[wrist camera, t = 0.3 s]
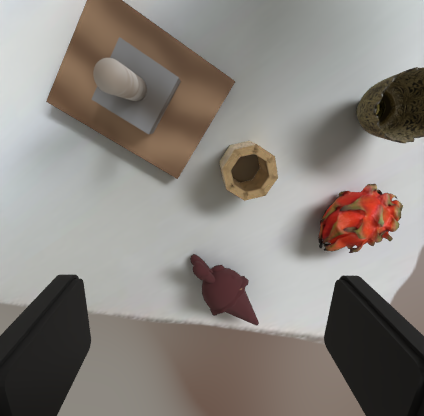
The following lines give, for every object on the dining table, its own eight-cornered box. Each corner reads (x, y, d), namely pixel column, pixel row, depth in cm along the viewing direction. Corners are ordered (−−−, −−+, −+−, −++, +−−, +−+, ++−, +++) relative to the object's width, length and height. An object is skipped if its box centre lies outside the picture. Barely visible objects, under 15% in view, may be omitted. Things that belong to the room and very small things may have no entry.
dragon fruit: (377, 186, 40) (308, 227, 43) (373, 158, 33) (292, 209, 37) (420, 230, 35) (338, 272, 38) (425, 209, 28) (326, 261, 32)
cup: (389, 136, 36) (440, 141, 28) (337, 140, 36) (374, 145, 28) (399, 77, 33) (457, 64, 26) (342, 81, 33) (384, 69, 26)
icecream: (284, 318, 37) (215, 246, 34) (247, 355, 37) (175, 285, 34) (266, 298, 44) (207, 236, 41) (235, 328, 44) (173, 268, 41)
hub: (237, 133, 35) (243, 135, 30) (274, 158, 36) (287, 164, 31) (211, 173, 36) (213, 182, 31) (248, 196, 38) (256, 208, 32)
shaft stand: (101, -10, 29) (28, -106, 17) (233, 83, 33) (252, 61, 20) (55, 102, 33) (-34, 91, 20) (178, 176, 36) (167, 204, 24)
